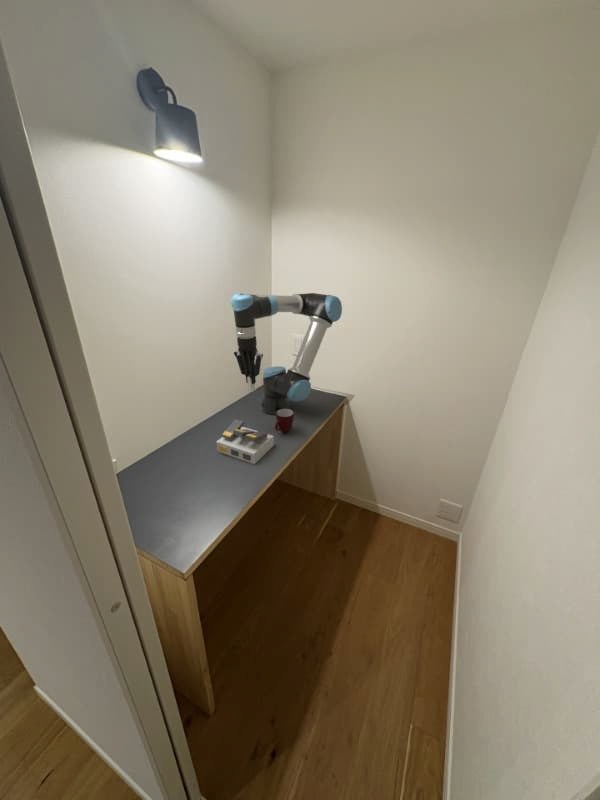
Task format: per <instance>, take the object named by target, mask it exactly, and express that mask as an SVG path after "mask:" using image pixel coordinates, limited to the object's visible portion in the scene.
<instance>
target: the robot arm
mask: <svg viewBox="0 0 600 800" xmlns="http://www.w3.org/2000/svg"><path fill="white" fill-rule="evenodd" d="M230 302H231V303H230V304H231V307H232V309H233V310H232V311H233V315H234V323H235V332H236V340H237V346H238V348H237V350H235V351H234V352H233V355H234V357H235V358H236V361H237V364H238V366H239V367H238V368H239V370H240V373H241V375H244V376H245V381H246V384H247V387H248V392H253V391H255V390H256V386H255V384H256V381H257V379H256V377H257V376H259V375H260V371H261V365H262V359H263V357H264V354H262V353H259V351H258V348H257V336H256V335H257V330H256V320H258V319H262V318H267V317H271V316H272V317H273V316H275V315H276V314H278V313H292V314H294V315H303V316H305V317H309V318H308V319H309V320H310V323H309V325H308V327H307V331H306V333H305V336H304V338H303V340H302V342H301V345H300V348H299V351H298V353H297V355H296V358H295V360H294V363H293V366H292V367H290V368H288V369H286V367H285V366H278V365H277V366H270V367H267V368H265V369H264V370H263V372H262V381H263V382H262V383H263V399H262V401H261V406H260V407H261V411H262V413H265V415H271V416H276V412H277V411H278V410H280V409H290V402H289V400H290V401H292V402H297V403H300V402H302V401H304V400H306V399H307V398H308V396H309V395H310V393H311V390H312V387H311V386H312V384H311V382H310V380H311V377H310V372H311V368H312V367H313V364H314V361H315V359H316V357H317V354H318V351H319V350H320V348H321V347H320V346H321V344H322V341H323V339H324V337H325V334H326V332H327V329H329V328H331V327H332V325H333V322H338V321H339V320H340V318H341V317H342V312H343V305H342V301H341V300H340V298H339V296H338V297H337V296H336V295H331V294H323V293H315V292H311V293H294V294H292V295H279V294H278V295H277V294H276V295H275V294H274V295H273V294H272V295H269V294H245V293H236V294H234V295H233V296H232V297H231V301H230Z"/></svg>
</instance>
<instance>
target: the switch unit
mask: <svg viewBox="0 0 600 800" xmlns="http://www.w3.org/2000/svg"><path fill="white" fill-rule="evenodd" d="M243 429H248V430H252V431H255V432H257V431H258V430H254V429H252V428H248V427H246V426H245V427H244V426H242V427H241V429H240V430H243ZM215 443H216V449H217V452H219V453H220V454H224V455H227V456H228V457H232V458H235V459H238V460H241V461H244V462H247V463H249V464H252V465H255V464H257V462H258V461H260V460H261V458H263V457H264V456H265V454H267V453H268V452H269V451H270V450H271V449H272V448H273V447H274V443H275V440H274V435H272V434H269V433H268V435H267V437H266V438H263V439H261V440H258V441H256V442H252V441H249V440H246V439H245V436H238V435H235V436H234V437H233V439H232V440H229V439H226V438H223V436H222V437H221V438H219V439H218V440H216V441H215Z"/></svg>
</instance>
